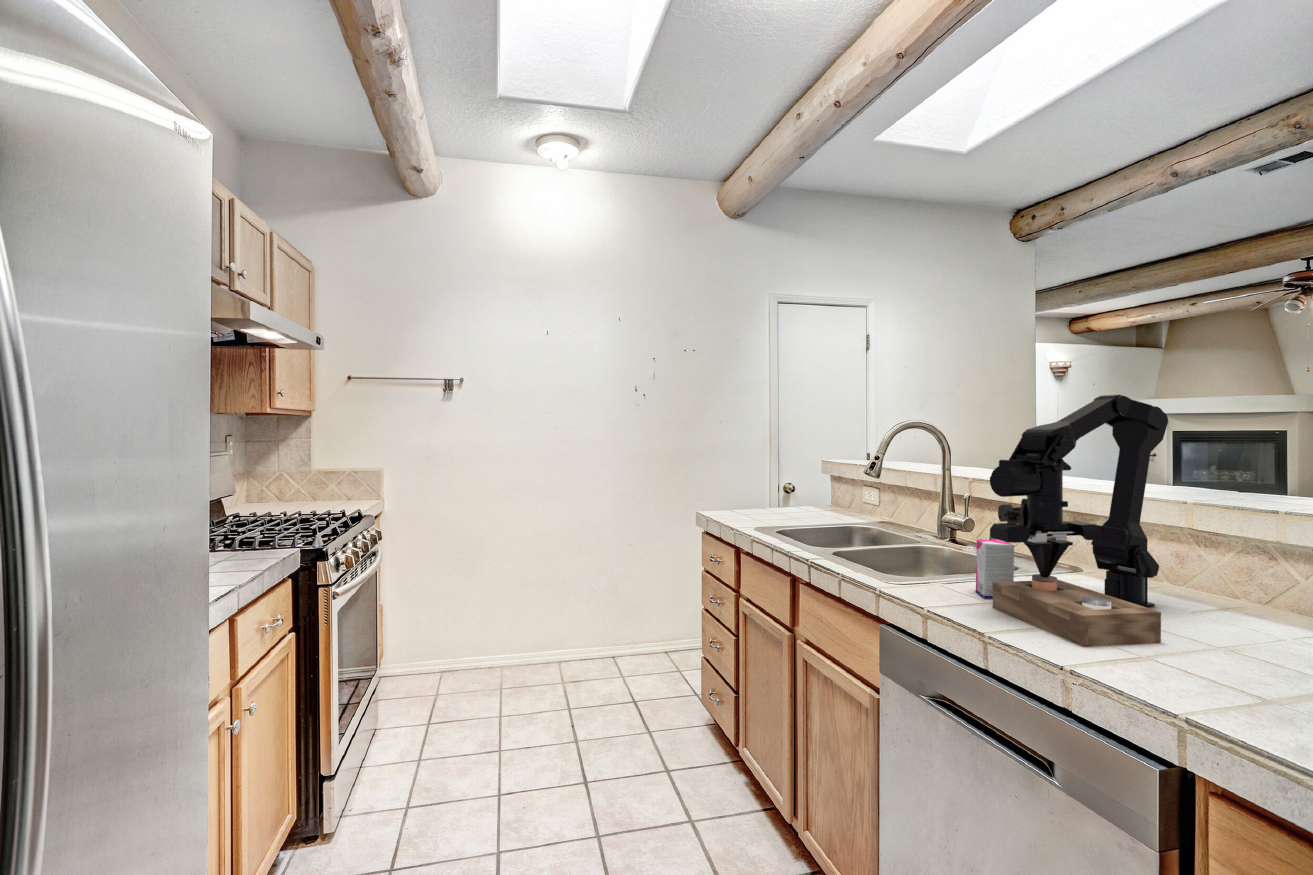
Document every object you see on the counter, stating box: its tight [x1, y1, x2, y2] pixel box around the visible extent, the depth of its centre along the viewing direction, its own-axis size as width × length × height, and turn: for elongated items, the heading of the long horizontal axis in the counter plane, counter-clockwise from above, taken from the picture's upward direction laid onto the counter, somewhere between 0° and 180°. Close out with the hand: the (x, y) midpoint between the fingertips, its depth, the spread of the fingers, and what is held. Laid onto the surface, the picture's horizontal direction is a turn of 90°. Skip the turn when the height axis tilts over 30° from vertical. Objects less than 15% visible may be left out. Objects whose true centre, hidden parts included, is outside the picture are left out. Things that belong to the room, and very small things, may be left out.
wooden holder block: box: [992, 579, 1162, 648], centre depth 111 cm, size 14×22×5 cm, turn 7°
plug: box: [1082, 596, 1111, 610], centre depth 105 cm, size 4×4×6 cm
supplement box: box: [975, 538, 1015, 600], centre depth 130 cm, size 6×6×12 cm
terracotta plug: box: [1031, 573, 1058, 591], centre depth 117 cm, size 4×4×6 cm
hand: (1044, 577), depth 117 cm, fingers closed, pressing on terracotta plug
